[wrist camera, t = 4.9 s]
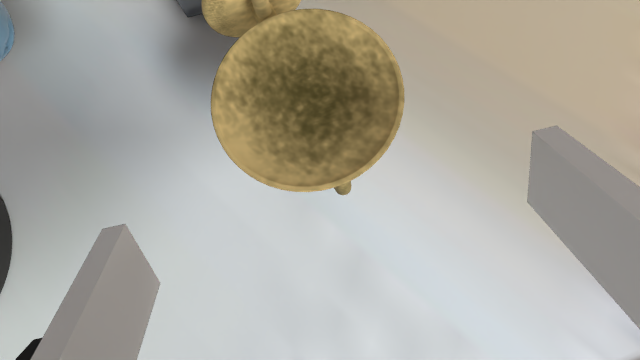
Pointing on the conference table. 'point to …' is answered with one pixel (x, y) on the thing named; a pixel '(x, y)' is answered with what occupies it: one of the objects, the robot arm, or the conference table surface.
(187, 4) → the tray
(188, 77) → the conference table surface
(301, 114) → the wall sconce
